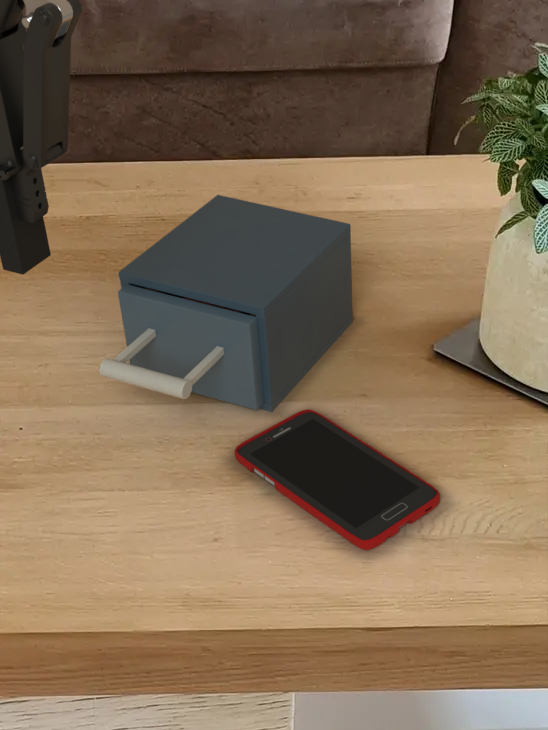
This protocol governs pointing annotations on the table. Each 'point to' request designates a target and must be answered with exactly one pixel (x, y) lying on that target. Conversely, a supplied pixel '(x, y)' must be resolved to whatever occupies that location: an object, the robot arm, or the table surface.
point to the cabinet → (260, 279)
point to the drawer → (187, 348)
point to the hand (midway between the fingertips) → (27, 261)
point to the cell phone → (338, 478)
